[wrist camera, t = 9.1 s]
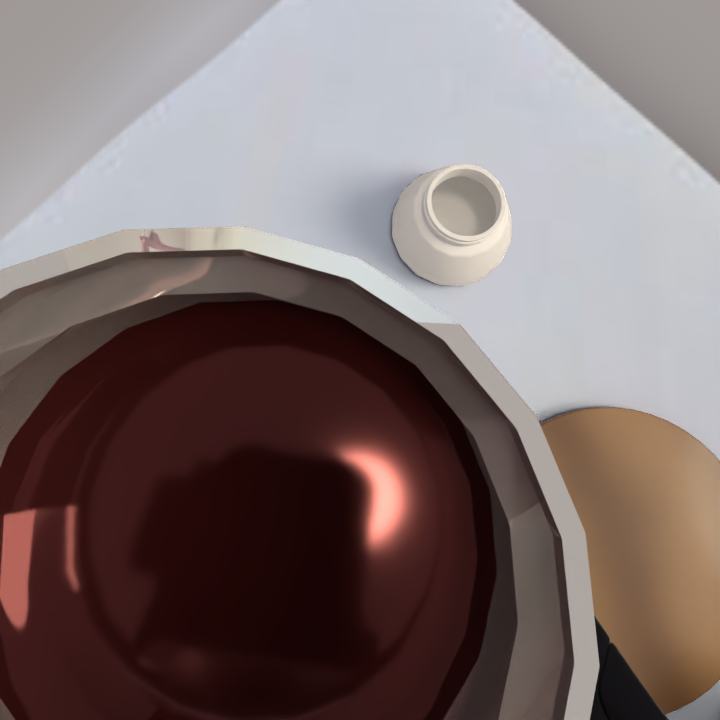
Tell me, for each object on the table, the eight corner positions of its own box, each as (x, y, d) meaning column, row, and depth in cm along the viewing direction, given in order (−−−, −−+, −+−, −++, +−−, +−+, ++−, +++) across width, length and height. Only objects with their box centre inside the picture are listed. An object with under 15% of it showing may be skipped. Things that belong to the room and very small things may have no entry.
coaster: (557, 774, 19) (563, 784, 18) (413, 491, 20) (415, 492, 19) (805, 618, 20) (818, 623, 20) (657, 359, 21) (665, 357, 21)
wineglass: (434, 421, 16) (714, 410, 4) (350, 623, 15) (409, 1321, 3) (247, 337, 16) (14, 96, 4) (151, 532, 15) (-488, 907, 3)
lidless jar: (447, 311, 21) (528, 235, 22) (466, 293, 18) (558, 207, 19) (367, 227, 21) (449, 155, 22) (372, 196, 18) (466, 114, 19)
